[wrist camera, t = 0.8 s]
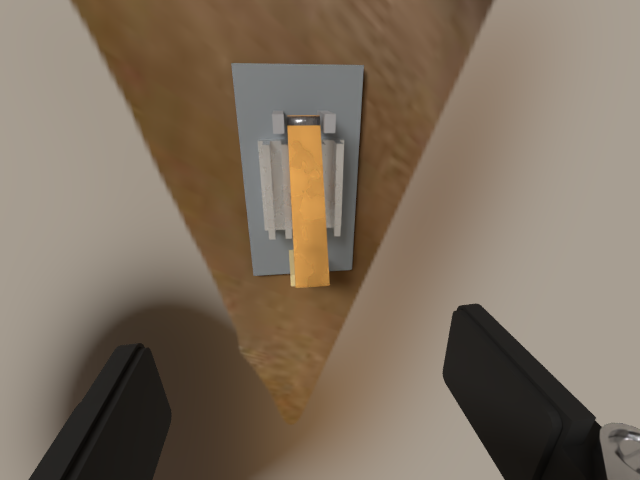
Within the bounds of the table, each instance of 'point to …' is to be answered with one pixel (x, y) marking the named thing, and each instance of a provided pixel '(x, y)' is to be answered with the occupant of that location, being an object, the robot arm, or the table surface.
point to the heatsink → (278, 184)
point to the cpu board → (271, 123)
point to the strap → (307, 201)
